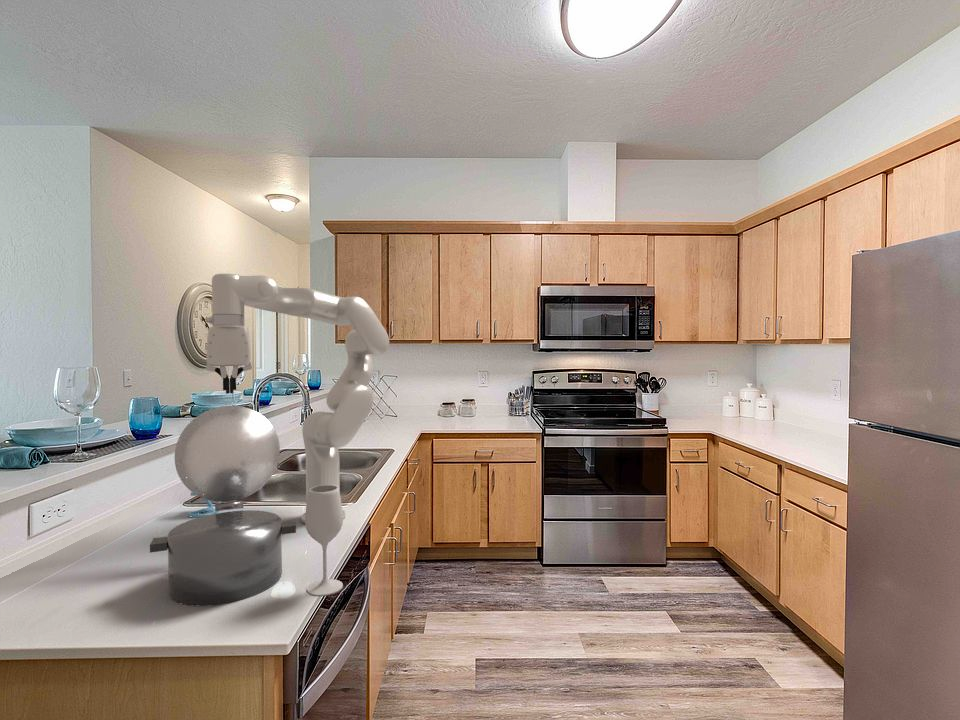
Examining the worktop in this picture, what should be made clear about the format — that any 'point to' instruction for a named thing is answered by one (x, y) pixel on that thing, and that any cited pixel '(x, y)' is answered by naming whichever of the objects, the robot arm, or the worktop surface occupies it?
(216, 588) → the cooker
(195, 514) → the light blue angular piece
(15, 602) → the worktop surface
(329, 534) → the wineglass
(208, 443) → the lid
